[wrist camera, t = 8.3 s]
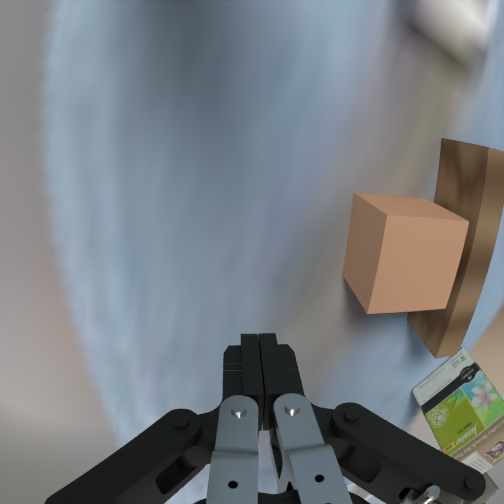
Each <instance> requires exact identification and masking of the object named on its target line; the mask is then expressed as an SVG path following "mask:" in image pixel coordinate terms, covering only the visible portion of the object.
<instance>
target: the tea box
mask: <svg viewBox="0 0 504 504" xmlns="http://www.w3.org/2000/svg"><path fill="white" fill-rule="evenodd" d="M413 394H414V396H415V398H416V400H417V402H418V404H419V406H420V408H421V410H422V411H423V414H424V416H425V418H426V420H427V422H428V423H429V425H430V427H431V430H432V432H433V434H434V436H435V438H436V440H437V442H438V444H439V446H440V448H441V450H442V452H443V453H445V454H447V455H448V456H450V457H452V458H454V459H456V460H458V461H460V462H462V463H464V464H466V465H468V466H470V467H472V468H474V469H476V470H477V471H479V472H480V473H482V474H483V473H485V472H486V471H487V470H489V469H490V468H491V467H493V466H494V465H495V464H497V463H498V462H499V461H500V460H502V459H503V458H504V400H503V399H502V398H501V396H500V395H499V393H498V392H497V391H496V389H495V388H494V386H493V385H492V384H491V382H490V381H489V379H488V378H487V377H486V375H485V374H484V373H483V371H482V370H481V369H480V367H479V366H478V364H477V363H476V362H475V361H474V359H473V358H472V357H471V355H470V354H469V353H468V351H467V350H466V349H465V348H464V347H463V348H461V349H460V350H459V351H458V353H457V354H456V355H453V356H452V357H451V358H450V359H449V360H447V361H446V362H445V363H444V364H443V365H442V366H440V367H439V368H438V369H437V370H436V371H435V372H433V373H432V374H431V375H430V376H428V377H427V378H426V379H425V380H424V381H422V382H421V383H420V384H419V385H417V386H416V387H415V388H414V389H413Z"/></svg>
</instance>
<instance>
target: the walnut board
mask: <svg viewBox="0 0 504 504" xmlns="http://www.w3.org/2000/svg"><path fill="white" fill-rule="evenodd" d="M434 203H435V204H437V205H439V206H441V207H443V208H445V209H447V210H449V211H451V212H453V213H455V214H456V215H458V216H460V217H462V218H464V219H466V220H467V221H469V225H468V230H467V234H466V239H465V243H464V247H463V251H462V255H461V259H460V262H459V266H458V270H457V273H456V277H455V280H454V283H453V287H452V290H451V293H450V296H449V299H448V302H447V305H446V308H445V309H435V310H422V311H410V312H409V316H408V319H407V321H408V322H409V323H410V325H411V326H412V327H413V329H414V330H415V331H416V333H417V334H418V336H419V337H420V338H421V340H422V341H423V342H424V344H425V345H426V347H427V348H428V349H429V351H430V352H431V354H432V355H433V356H434V358H435V359H436V358H441V357H446V356H451V355H456V354H457V353H458V351H459V349H460V346H461V344H462V342H463V339H464V337H465V334H466V332H467V330H468V327H469V324H470V322H471V319H472V317H473V314H474V311H475V308H476V306H477V303H478V300H479V297H480V294H481V291H482V288H483V285H484V282H485V278H486V275H487V272H488V268H489V265H490V261H491V258H492V254H493V250H494V246H495V242H496V238H497V234H498V230H499V225H500V220H501V216H502V211H503V205H504V152H503V151H500V150H496V149H493V148H489V147H485V146H480V145H476V144H471V143H466V142H461V141H455V140H450V139H444V138H442V142H441V153H440V163H439V172H438V180H437V187H436V194H435V201H434Z"/></svg>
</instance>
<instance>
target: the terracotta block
mask: <svg viewBox="0 0 504 504" xmlns="http://www.w3.org/2000/svg"><path fill="white" fill-rule="evenodd" d="M468 225H469V221H467V220H466V219H464V218H462V217H460V216H458V215H456V214H455V213H453V212H451V211H449V210H447V209H445V208H443V207H441V206H439V205H437V204H435V203H433V202H431V201H429V200H427V199H418V198H409V197H399V196H388V195H376V194H364V193H354V197H353V205H352V213H351V221H350V228H349V236H348V242H347V249H346V256H345V262H344V268H343V274H342V275H343V277H344V278H345V280H346V281H347V283H348V284H349V286H350V288H351V289H352V291H353V292H354V294H355V295H356V297H357V299H358V300H359V302H360V303H361V305H362V307H363V308H364V310H365V311H366V313H367V314H378V313H394V312H409V311H422V310H435V309H445V308H446V305H447V302H448V299H449V296H450V293H451V290H452V287H453V283H454V280H455V277H456V273H457V270H458V266H459V262H460V259H461V255H462V251H463V247H464V243H465V239H466V234H467V230H468Z"/></svg>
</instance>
